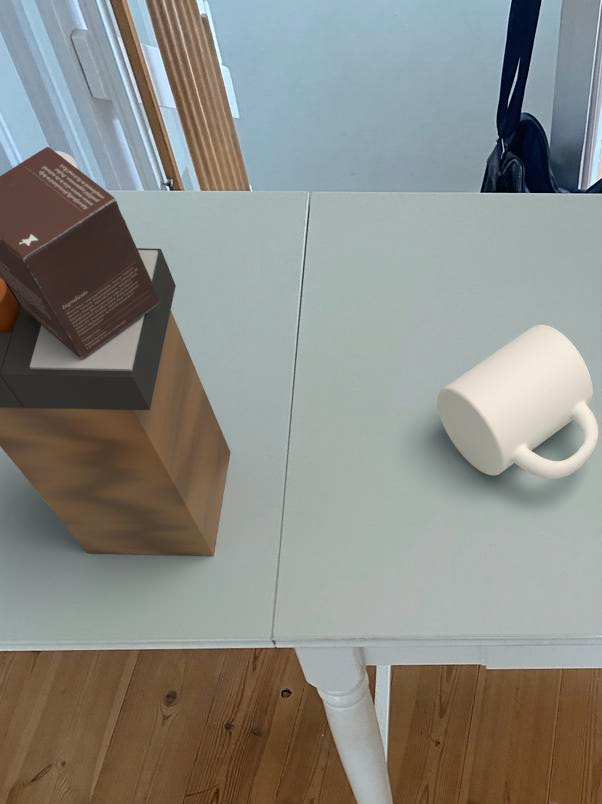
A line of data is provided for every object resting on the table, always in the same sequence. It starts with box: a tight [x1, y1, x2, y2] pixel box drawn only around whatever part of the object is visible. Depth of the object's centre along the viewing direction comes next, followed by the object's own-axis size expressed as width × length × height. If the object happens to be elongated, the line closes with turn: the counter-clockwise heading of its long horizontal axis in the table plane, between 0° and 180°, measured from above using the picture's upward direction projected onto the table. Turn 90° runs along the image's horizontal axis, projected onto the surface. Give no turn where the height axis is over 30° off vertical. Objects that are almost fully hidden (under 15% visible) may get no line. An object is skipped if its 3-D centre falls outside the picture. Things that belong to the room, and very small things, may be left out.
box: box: [0, 146, 160, 358], centre depth 49 cm, size 6×6×7 cm
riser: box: [0, 310, 231, 557], centre depth 63 cm, size 10×10×18 cm
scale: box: [0, 247, 177, 410], centre depth 53 cm, size 12×10×3 cm
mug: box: [436, 324, 599, 480], centre depth 70 cm, size 12×10×8 cm
